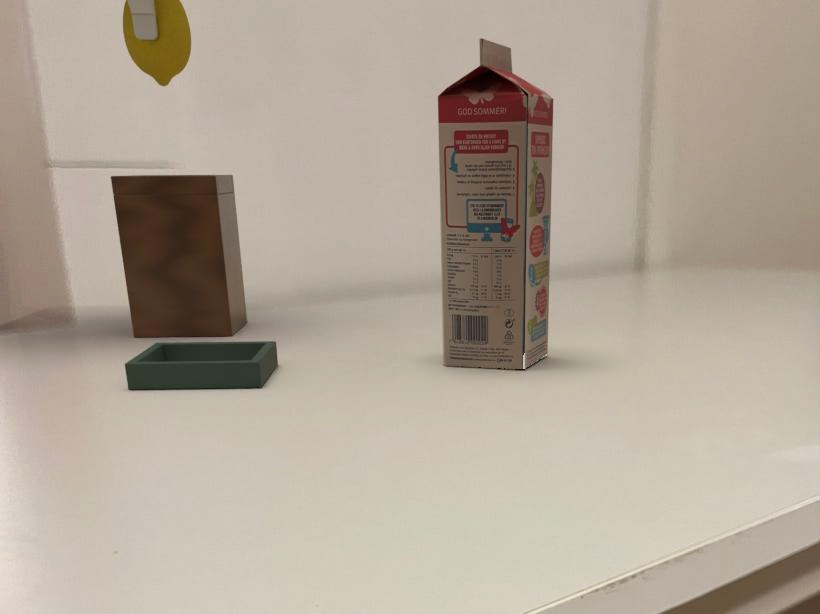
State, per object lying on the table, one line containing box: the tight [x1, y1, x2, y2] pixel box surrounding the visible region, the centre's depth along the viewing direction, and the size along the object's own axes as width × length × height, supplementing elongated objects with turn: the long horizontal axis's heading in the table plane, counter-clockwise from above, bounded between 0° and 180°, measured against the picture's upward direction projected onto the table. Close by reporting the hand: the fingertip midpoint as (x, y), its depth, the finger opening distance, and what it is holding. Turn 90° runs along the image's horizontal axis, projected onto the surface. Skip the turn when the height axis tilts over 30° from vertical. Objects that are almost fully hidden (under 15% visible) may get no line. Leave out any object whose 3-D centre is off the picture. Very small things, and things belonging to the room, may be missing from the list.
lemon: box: [122, 0, 192, 87], centre depth 86 cm, size 6×6×8 cm
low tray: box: [124, 340, 279, 390], centre depth 75 cm, size 9×9×2 cm
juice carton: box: [437, 37, 554, 370], centre depth 76 cm, size 7×7×22 cm
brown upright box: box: [110, 174, 248, 338], centre depth 94 cm, size 9×9×14 cm
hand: (157, 45), depth 86 cm, fingers closed on lemon, 5 cm apart
